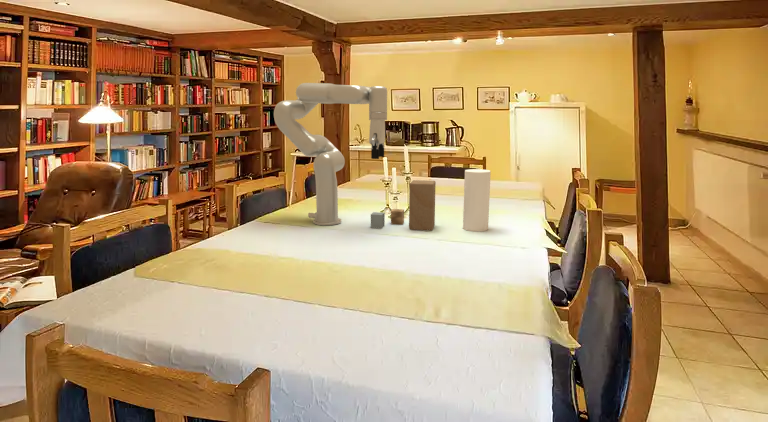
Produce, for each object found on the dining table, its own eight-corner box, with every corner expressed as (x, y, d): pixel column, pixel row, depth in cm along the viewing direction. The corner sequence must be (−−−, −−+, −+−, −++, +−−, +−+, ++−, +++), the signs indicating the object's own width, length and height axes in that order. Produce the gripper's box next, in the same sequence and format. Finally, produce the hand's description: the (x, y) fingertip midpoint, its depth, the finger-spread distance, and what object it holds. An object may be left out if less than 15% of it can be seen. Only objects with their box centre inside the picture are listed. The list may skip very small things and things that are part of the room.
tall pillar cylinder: (492, 228, 222) (495, 170, 217) (479, 232, 214) (481, 172, 209) (472, 224, 229) (474, 168, 224) (458, 228, 221) (459, 170, 216)
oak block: (390, 224, 229) (390, 211, 228) (393, 221, 234) (393, 209, 233) (401, 224, 228) (402, 211, 227) (404, 222, 233) (404, 209, 232)
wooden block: (432, 230, 217) (433, 183, 213) (408, 229, 219) (409, 183, 215) (434, 225, 227) (435, 180, 223) (412, 224, 229) (412, 179, 225)
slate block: (370, 228, 222) (370, 214, 221) (373, 225, 227) (373, 212, 226) (382, 228, 221) (382, 215, 220) (384, 226, 226) (384, 212, 225)
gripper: (374, 116, 224) (374, 155, 227) (364, 117, 207) (364, 159, 211) (391, 116, 222) (390, 156, 226) (382, 117, 206) (382, 160, 209)
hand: (377, 157), depth 218 cm, fingers open, 9 cm apart
